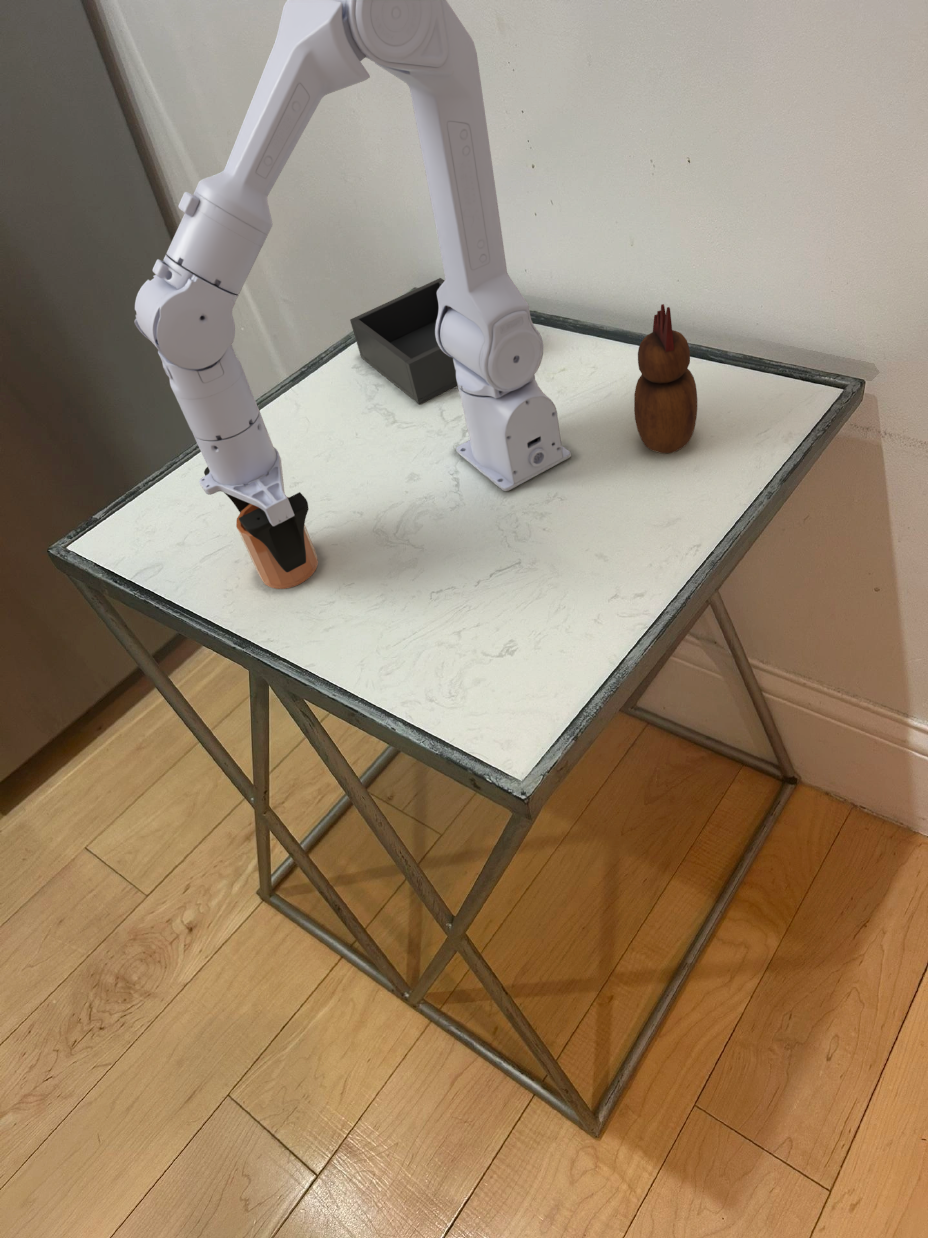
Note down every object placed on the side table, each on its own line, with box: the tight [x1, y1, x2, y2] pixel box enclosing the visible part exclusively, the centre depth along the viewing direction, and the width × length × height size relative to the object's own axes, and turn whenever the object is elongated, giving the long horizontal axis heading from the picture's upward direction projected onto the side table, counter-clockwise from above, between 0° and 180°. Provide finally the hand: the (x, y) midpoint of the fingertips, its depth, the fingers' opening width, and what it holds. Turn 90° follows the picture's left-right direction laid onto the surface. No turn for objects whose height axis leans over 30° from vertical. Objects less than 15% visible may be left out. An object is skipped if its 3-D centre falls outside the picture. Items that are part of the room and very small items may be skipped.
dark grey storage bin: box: [349, 277, 458, 405], centre depth 109 cm, size 15×13×5 cm
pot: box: [235, 496, 319, 590], centre depth 86 cm, size 6×6×6 cm
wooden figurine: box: [633, 303, 698, 454], centre depth 86 cm, size 7×6×15 cm
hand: (278, 544), depth 86 cm, fingers open, 7 cm apart
